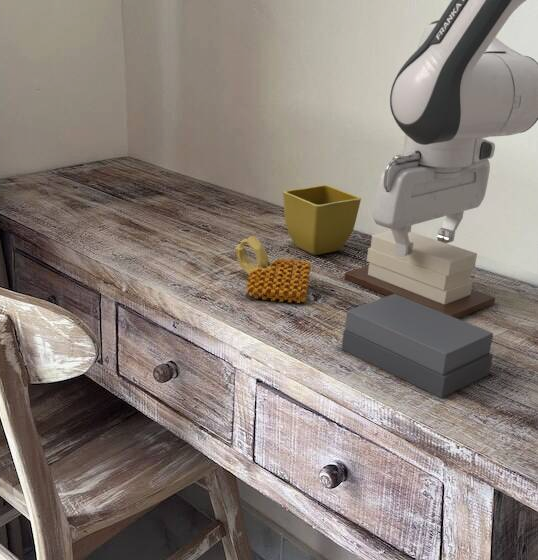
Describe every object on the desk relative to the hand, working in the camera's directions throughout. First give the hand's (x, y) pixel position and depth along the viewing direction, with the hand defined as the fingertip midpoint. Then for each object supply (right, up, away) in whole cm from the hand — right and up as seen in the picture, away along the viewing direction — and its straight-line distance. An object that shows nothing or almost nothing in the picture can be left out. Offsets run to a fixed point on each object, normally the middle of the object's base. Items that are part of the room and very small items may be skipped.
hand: (424, 248), depth 111 cm
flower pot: (-12, 0, +17) cm, 21 cm away
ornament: (-21, -5, +2) cm, 22 cm away
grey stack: (-6, -14, -17) cm, 23 cm away
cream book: (0, -1, +1) cm, 2 cm away
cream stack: (0, -6, +3) cm, 7 cm away
